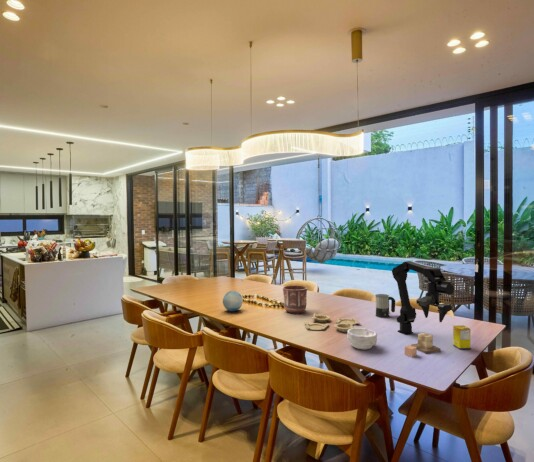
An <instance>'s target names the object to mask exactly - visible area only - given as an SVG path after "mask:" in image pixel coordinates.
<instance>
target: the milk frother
mask: <svg viewBox="0 0 534 462" xmlns="http://www.w3.org/2000/svg"><path fill="white" fill-rule="evenodd" d="M390 301H391V306H390ZM390 307H391V308H390ZM390 311H391V312H392V313H395V312H396V299H395V298H394V297H393V296H390V295H389V294H385V293H377V294H375V317H377V318H381V319H382V318H383V319H385V318H389V317H390Z"/></svg>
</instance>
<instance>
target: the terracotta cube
mask: <svg viewBox="0 0 534 462" xmlns="http://www.w3.org/2000/svg"><path fill="white" fill-rule="evenodd" d="M417 351H418V350H417V347H414V346H411V344H408V345H406V346H404V355H405V356H408V357H411V358H414V357H416V356H417Z"/></svg>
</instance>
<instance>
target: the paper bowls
mask: <svg viewBox="0 0 534 462" xmlns="http://www.w3.org/2000/svg"><path fill="white" fill-rule="evenodd" d="M377 334H378V333H377V332H376V331H375V330H372V329H369V328H364V327H363V328H362V327H353V328H352V329H349V330H348V331H347V332H346V335H347V336H346V337H347V338H346V339H347V342H349V343H350V344H351V346H352V347H353V348H356V349H358V350H370V349H371V348H372V347H373V346H375V345H377V343H378V342H377V341H378V338H377V336H378V335H377Z"/></svg>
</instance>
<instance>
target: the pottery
mask: <svg viewBox="0 0 534 462" xmlns="http://www.w3.org/2000/svg"><path fill="white" fill-rule="evenodd" d="M282 292H283V293H282V294H283V307H284V309H285V310H286V313H289V314H293V315H295V314H302V313H304V312H305V311H306V309H307V292H308V288H307V286H304V285H295V284H294V285H285V286H283V287H282Z"/></svg>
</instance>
